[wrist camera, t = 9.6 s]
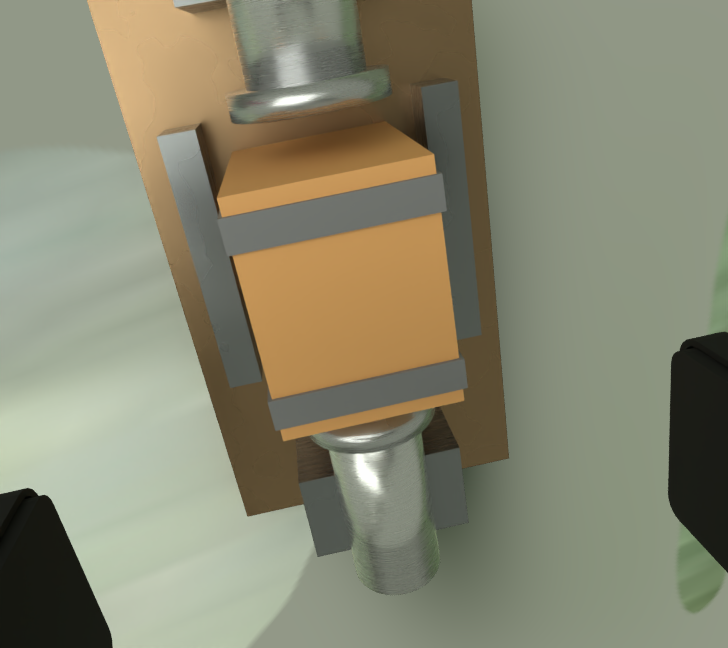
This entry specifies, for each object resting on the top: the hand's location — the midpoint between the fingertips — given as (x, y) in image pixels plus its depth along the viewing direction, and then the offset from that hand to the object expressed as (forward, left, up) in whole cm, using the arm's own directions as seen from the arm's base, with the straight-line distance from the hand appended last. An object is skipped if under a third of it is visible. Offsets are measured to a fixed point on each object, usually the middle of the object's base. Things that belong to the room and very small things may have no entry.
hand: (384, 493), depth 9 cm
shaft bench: (+1, 0, -13) cm, 13 cm away
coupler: (+1, 0, -11) cm, 11 cm away
